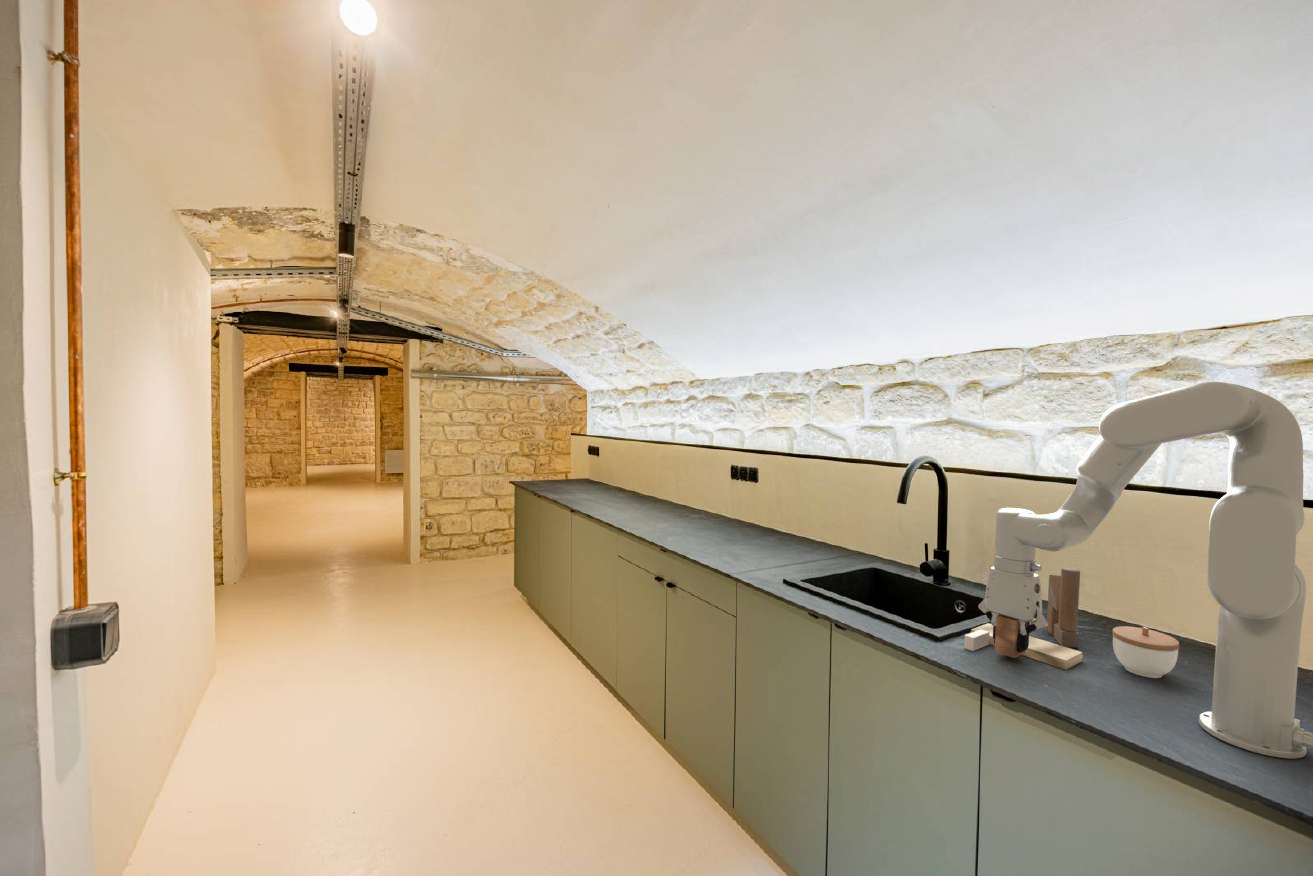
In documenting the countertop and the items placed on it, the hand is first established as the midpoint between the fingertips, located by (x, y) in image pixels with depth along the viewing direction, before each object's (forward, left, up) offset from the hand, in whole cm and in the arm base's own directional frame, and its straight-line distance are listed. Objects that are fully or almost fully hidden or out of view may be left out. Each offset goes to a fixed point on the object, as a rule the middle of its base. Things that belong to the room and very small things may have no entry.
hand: (1010, 646), depth 127 cm
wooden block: (-1, -23, -3) cm, 23 cm away
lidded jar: (-18, -18, -3) cm, 25 cm away
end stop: (+7, 0, -3) cm, 8 cm away
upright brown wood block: (0, -5, -1) cm, 5 cm away
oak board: (+1, -8, -3) cm, 8 cm away
